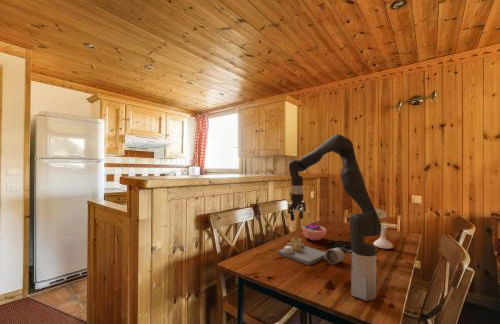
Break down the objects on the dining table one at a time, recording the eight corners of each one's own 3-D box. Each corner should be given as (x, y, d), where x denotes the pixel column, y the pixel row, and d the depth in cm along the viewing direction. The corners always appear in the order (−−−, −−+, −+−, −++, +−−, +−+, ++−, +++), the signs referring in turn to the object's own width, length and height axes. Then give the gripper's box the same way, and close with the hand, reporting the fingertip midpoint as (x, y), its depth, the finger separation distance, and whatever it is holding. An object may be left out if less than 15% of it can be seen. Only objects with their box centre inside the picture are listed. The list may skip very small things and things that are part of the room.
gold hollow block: (297, 252, 143) (297, 241, 143) (287, 249, 148) (287, 238, 148) (304, 250, 148) (304, 239, 148) (294, 247, 153) (295, 236, 153)
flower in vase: (397, 249, 157) (397, 210, 158) (384, 251, 153) (384, 211, 154) (379, 243, 169) (379, 207, 170) (367, 245, 165) (367, 208, 166)
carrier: (308, 265, 129) (308, 255, 130) (277, 254, 146) (277, 244, 146) (328, 256, 143) (328, 247, 143) (297, 247, 159) (298, 238, 159)
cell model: (300, 242, 170) (300, 225, 170) (303, 234, 189) (303, 220, 189) (326, 244, 165) (326, 228, 165) (325, 236, 184) (326, 221, 184)
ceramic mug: (345, 262, 134) (345, 248, 135) (337, 266, 129) (337, 251, 129) (328, 257, 142) (328, 243, 143) (320, 260, 137) (320, 246, 137)
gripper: (294, 194, 140) (294, 222, 140) (309, 192, 150) (309, 219, 149) (284, 193, 146) (284, 220, 145) (299, 191, 156) (299, 217, 155)
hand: (297, 219), depth 147 cm, fingers open, 8 cm apart
